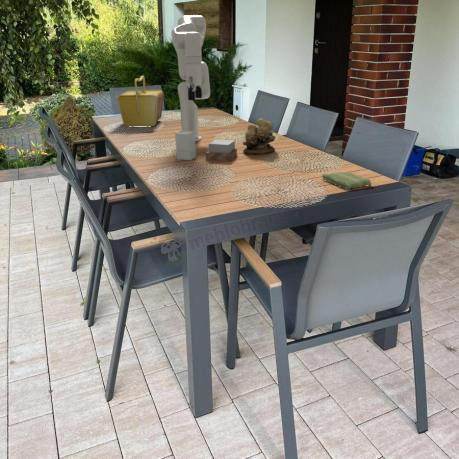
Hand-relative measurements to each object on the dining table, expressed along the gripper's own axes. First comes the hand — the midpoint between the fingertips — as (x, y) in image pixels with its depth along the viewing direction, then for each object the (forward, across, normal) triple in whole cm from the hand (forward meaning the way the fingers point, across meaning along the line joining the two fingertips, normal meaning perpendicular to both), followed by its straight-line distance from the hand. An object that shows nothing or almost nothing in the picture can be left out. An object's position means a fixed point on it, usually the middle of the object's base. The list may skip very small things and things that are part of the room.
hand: (195, 99), depth 226 cm
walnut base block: (+28, +2, +13) cm, 31 cm away
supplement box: (+27, +7, -3) cm, 28 cm away
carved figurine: (+27, -14, +28) cm, 42 cm away
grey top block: (+24, +2, +13) cm, 27 cm away
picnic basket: (+24, -72, -64) cm, 100 cm away
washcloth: (+30, +29, +73) cm, 84 cm away
